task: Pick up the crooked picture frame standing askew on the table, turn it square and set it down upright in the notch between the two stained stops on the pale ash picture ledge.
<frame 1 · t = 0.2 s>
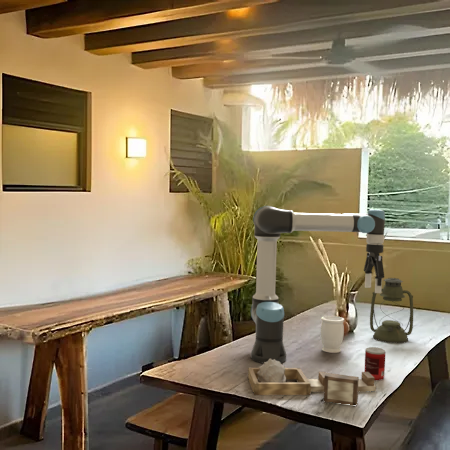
hand: (372, 290, 263), 28 cm above the table, fingers open, 13 cm apart
seashell: (275, 386, 215), resting in shell cradle
shell cradle: (277, 386, 214), on the table
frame: (340, 402, 200), on the table
jar: (331, 351, 263), on the table
ledge: (340, 388, 214), on the table
lantern: (390, 338, 289), on the table
canned food: (374, 377, 227), on the table
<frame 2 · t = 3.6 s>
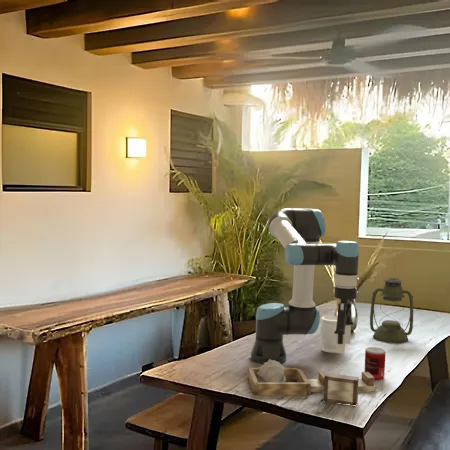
hand: (343, 348, 199), 19 cm above the table, fingers open, 13 cm apart
nothing on the table moved.
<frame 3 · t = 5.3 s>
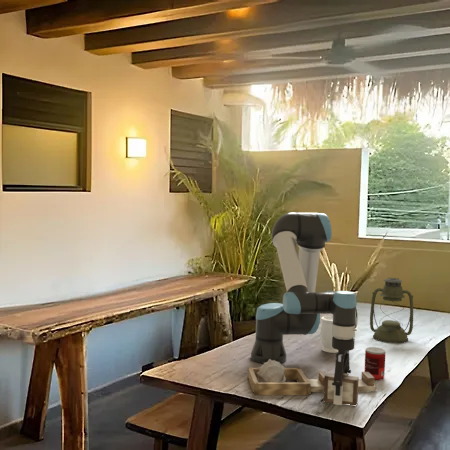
hand: (340, 397, 199), 2 cm above the table, fingers open, 13 cm apart
nothing on the table moved.
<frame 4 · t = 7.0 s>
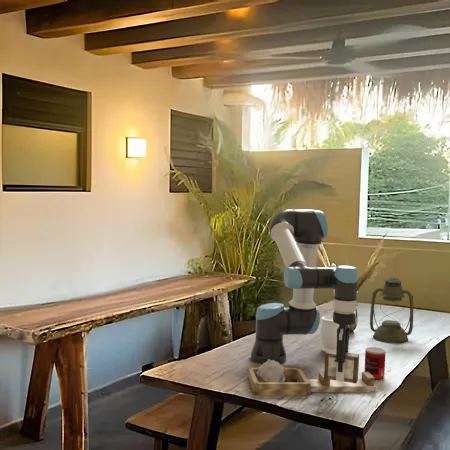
hand: (341, 378, 200), 8 cm above the table, fingers closed on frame, 4 cm apart
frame: (340, 379, 200), point 8 cm above the table, touching gripper
everything else where it was.
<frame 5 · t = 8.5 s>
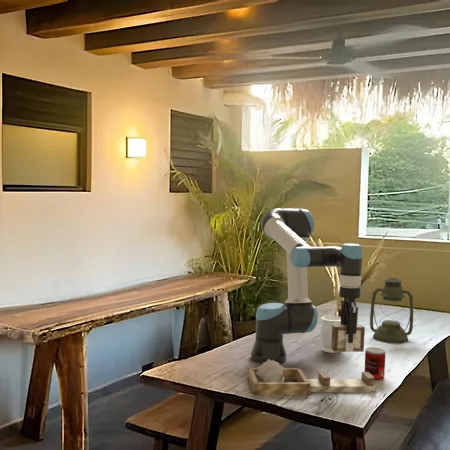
hand: (347, 349, 213), 15 cm above the table, fingers closed on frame, 4 cm apart
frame: (347, 350, 213), point 14 cm above the table, touching gripper
everything else where it was.
when the fingers open (3 cm above the table, at t = 10.3 s): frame stays where it is, resting on ledge.
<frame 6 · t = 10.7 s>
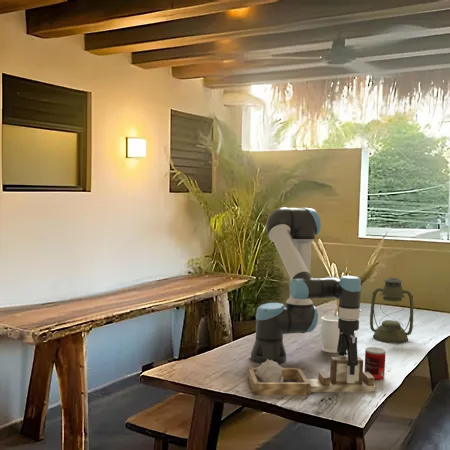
hand: (346, 377, 214), 4 cm above the table, fingers open, 10 cm apart
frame: (345, 382, 214), point 2 cm above the table, touching ledge
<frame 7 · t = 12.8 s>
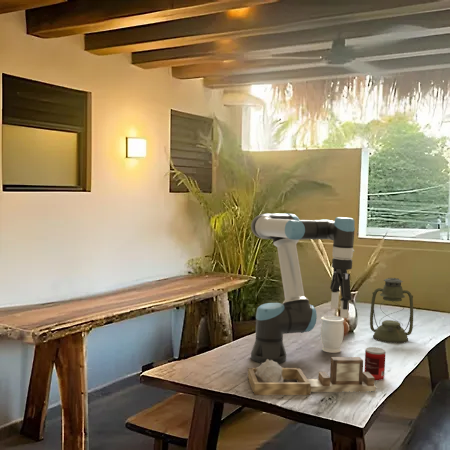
hand: (338, 313, 222), 26 cm above the table, fingers open, 13 cm apart
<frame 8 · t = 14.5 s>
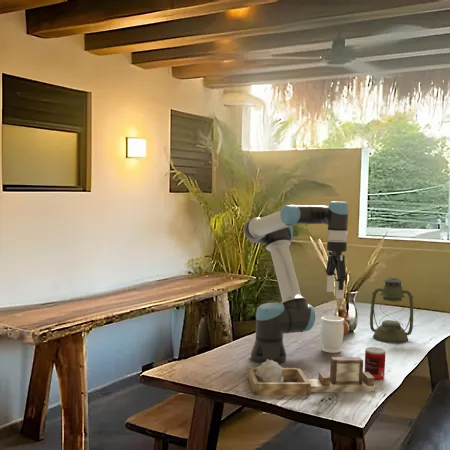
hand: (334, 294, 228), 32 cm above the table, fingers open, 13 cm apart
at the end: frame 0.0 cm from the target spot on the ledge, point 2.0 cm above the ledge's base; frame tilted 0°; the gripper is holding nothing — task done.
